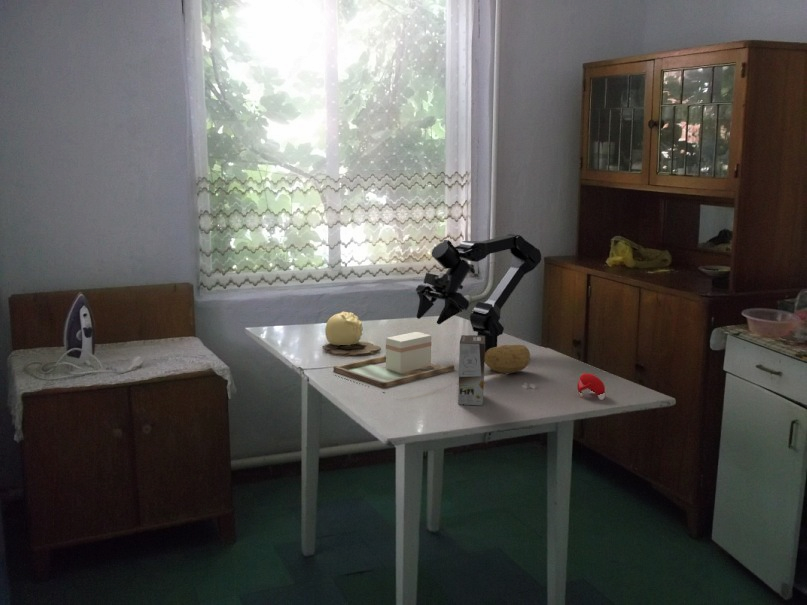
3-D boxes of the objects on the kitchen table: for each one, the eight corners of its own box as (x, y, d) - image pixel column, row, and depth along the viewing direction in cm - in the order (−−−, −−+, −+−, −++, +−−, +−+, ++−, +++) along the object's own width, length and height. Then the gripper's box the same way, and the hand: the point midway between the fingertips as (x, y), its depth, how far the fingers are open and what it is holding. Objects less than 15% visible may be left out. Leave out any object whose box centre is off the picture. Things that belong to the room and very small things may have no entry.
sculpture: (363, 348, 265) (363, 315, 263) (324, 349, 264) (324, 315, 262) (362, 340, 276) (362, 308, 274) (325, 340, 275) (325, 308, 273)
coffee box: (483, 406, 210) (485, 343, 207) (457, 404, 210) (459, 342, 207) (483, 395, 219) (485, 335, 216) (459, 394, 219) (460, 334, 216)
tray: (403, 359, 253) (403, 351, 253) (454, 373, 238) (454, 365, 238) (333, 375, 235) (333, 366, 234) (383, 392, 220) (383, 383, 219)
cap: (569, 384, 219) (585, 377, 214) (580, 372, 222) (596, 365, 218) (587, 408, 219) (603, 402, 214) (597, 396, 223) (613, 390, 218)
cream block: (416, 361, 246) (416, 331, 244) (430, 365, 242) (431, 335, 240) (385, 368, 238) (385, 337, 236) (400, 373, 234) (400, 341, 232)
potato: (476, 370, 242) (477, 343, 241) (520, 366, 247) (521, 340, 245) (491, 379, 233) (492, 351, 232) (536, 375, 238) (537, 348, 236)
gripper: (418, 258, 252) (391, 300, 248) (460, 266, 237) (432, 311, 234) (439, 279, 258) (413, 320, 255) (481, 287, 244) (454, 332, 240)
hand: (427, 320), depth 246 cm, fingers open, 9 cm apart
